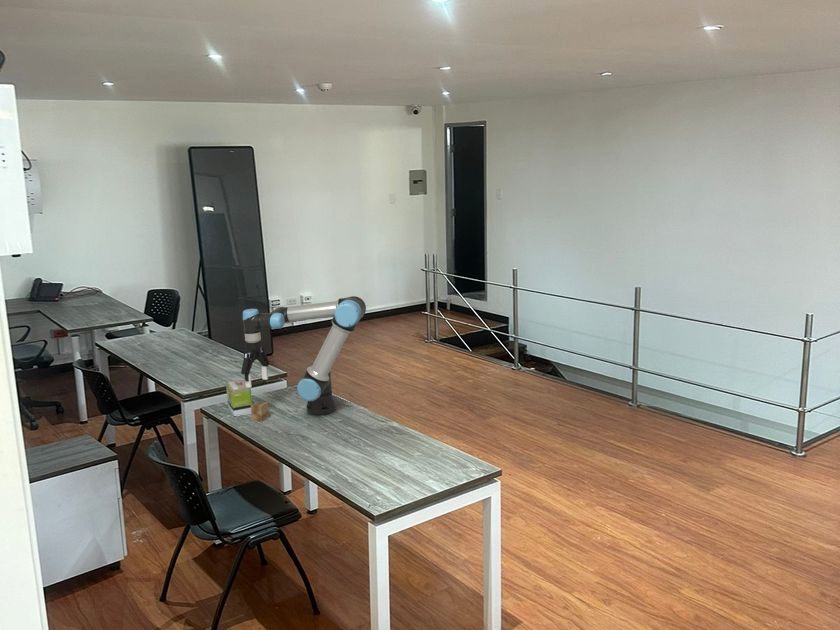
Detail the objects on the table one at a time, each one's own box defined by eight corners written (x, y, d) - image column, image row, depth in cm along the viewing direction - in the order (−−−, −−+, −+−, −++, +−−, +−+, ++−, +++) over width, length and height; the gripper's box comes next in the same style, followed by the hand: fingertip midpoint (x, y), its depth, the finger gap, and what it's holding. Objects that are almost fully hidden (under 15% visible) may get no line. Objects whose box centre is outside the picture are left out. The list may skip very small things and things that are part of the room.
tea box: (228, 409, 391) (225, 382, 388) (247, 406, 395) (244, 379, 392) (233, 417, 378) (231, 389, 375) (253, 414, 382) (251, 386, 379)
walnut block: (269, 417, 375) (267, 402, 374) (262, 421, 370) (260, 406, 368) (259, 416, 378) (257, 401, 376) (252, 420, 372) (250, 405, 371)
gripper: (261, 334, 379) (265, 375, 383) (230, 346, 356) (235, 389, 360) (274, 335, 376) (277, 376, 380) (244, 347, 353) (248, 391, 357)
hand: (257, 383), depth 370 cm, fingers open, 13 cm apart
